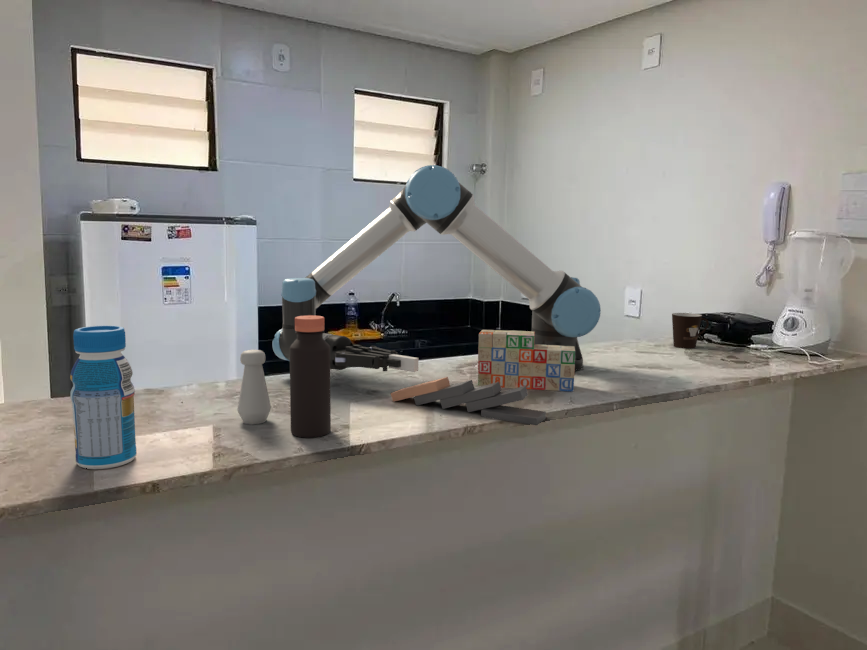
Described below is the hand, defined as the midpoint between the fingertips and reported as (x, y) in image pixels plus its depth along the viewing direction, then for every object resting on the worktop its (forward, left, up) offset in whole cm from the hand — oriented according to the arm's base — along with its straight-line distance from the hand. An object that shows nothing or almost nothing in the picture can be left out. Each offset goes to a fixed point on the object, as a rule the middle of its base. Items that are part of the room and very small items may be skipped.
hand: (416, 365), depth 135 cm
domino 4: (-12, +11, -7) cm, 18 cm away
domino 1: (-1, +1, -7) cm, 7 cm away
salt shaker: (+31, +10, -8) cm, 34 cm away
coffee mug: (-94, -53, -8) cm, 108 cm away
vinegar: (+21, +18, -8) cm, 29 cm away
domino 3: (-10, +8, -6) cm, 14 cm away
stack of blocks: (-27, -10, -8) cm, 30 cm away
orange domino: (+3, -2, -7) cm, 8 cm away
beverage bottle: (+51, +28, -8) cm, 59 cm away
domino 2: (-5, +5, -6) cm, 10 cm away
